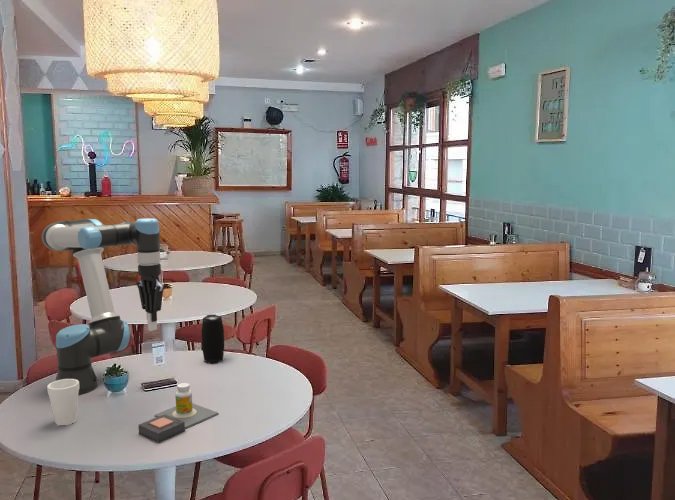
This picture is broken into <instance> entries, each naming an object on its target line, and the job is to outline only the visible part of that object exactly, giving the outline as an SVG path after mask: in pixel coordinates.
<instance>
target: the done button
mask: <svg viewBox="0 0 675 500" xmlns="http://www.w3.org/2000/svg"><path fill="white" fill-rule="evenodd" d="M173 423H174V421H171V420H169V419H166V418H164V417H163V418H160V419H158V420H155V421H153V422H150V425H151V426H153V427H155V428H158V429H162V428H164V427H166V426H169V425H171V424H173Z"/></svg>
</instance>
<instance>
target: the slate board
mask: <svg viewBox="0 0 675 500" xmlns="http://www.w3.org/2000/svg"><path fill="white" fill-rule="evenodd" d="M164 414H166V415H168V416H171V417H173V418H176V419H178V420H181V421H183V422H185V430H186V429H189V428H190V427H191V428H192V427H193V426H196V425H198V424H199V423H202V422H205V421H206V420H209V419H211V418H213V417H216V416H218V415H219V412H218V411H215V410H212V409H209V408H207V407H204V406H201V405H198V404H195V403H193V402H192V413H191V414H188V415H178V414H177V413H176V405H175V406H173V407H170V408H168V409H165V410H162V411H160V412H158V413H155V414H154V417H155V418H157V417H159V416H161V415H164Z"/></svg>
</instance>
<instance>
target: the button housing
mask: <svg viewBox="0 0 675 500" xmlns="http://www.w3.org/2000/svg"><path fill="white" fill-rule="evenodd" d="M163 417H164V418H166V419H169V420H171V421H174V423H173V424H171V425H169V426H166V427H164V428H162V429H158V428H155V427H153V426H151V425H150V422H153V421H155V420H158V419H160V418H163ZM137 425H138V434H139V435H141V436H143V437H145V438H148V440H149V439H150V440H152V441H154V442H156V443H158V444H159V443H161V442H164V441H165V440H168V439H170V438H172V437H175V436H177V435H178V434H182V433H183V432H185V431H186V429H185V422H183V421H181V420H178V419H176V418H173V417H171V416H168V415H166V414H164V415H161V416H159V417H155V418H152V419H150V420H147V421H144V422H142V423H139V424H137Z"/></svg>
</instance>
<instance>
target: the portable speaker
mask: <svg viewBox="0 0 675 500" xmlns="http://www.w3.org/2000/svg"><path fill="white" fill-rule="evenodd" d="M200 331H201V348H202V354H203V360H204V362H207V363H208V364H210V365H212V364H213V365H214V364H218V363H219V362H220V361H222V362H223V360H224V354H225V328H224V323H223V320H222V316H221V315H217V314H207V315H205V316H204V317H202V325H201V330H200Z"/></svg>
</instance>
